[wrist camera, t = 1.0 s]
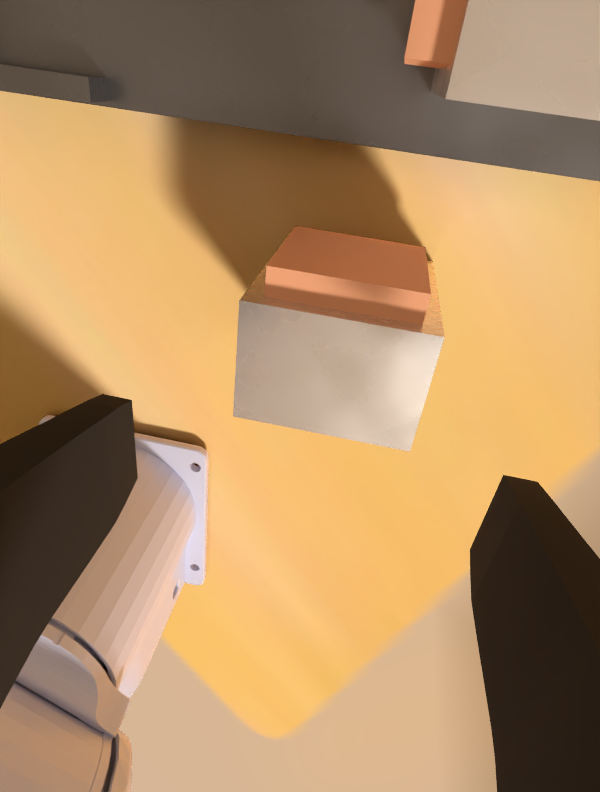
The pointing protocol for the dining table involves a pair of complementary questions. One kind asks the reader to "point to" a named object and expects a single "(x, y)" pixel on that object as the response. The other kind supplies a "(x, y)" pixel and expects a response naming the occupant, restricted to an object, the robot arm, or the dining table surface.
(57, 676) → the robot arm
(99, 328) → the dining table surface
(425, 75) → the rail
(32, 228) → the dining table surface
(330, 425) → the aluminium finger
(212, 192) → the dining table surface
